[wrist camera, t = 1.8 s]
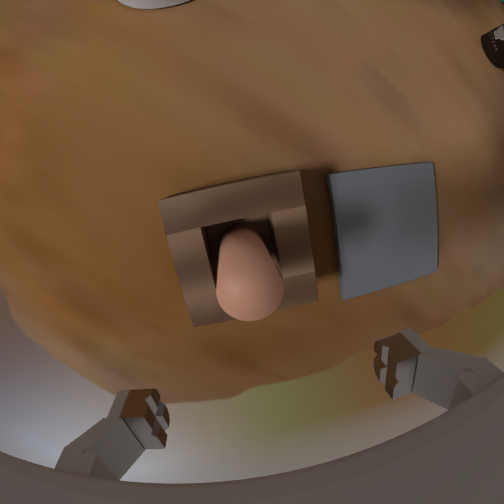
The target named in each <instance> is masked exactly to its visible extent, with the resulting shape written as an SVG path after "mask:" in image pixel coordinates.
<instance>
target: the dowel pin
mask: <svg viewBox="0 0 504 504" xmlns="http://www.w3.org/2000/svg"><path fill="white" fill-rule="evenodd" d="M283 293H284V285H283V280H282V278H281V276H280V274H279V272H278V270H277V268H276V266H275V264H274V262H273V260H272V258H271V256H270V254H269V252H268V250H267V248H266V246H265V244H264V242H263V240H262V238H261V236H260V235H259V233H258V231H257V230H256V229H255V228H254V227H253V226H251V225H250V224H247V223H235V224H232V225H230V226H229V227H227V228H226V229H225V231H224V232H223V234H222V236H221V241H220V251H219V263H218V274H217V287H216V295H217V299H218V302H219V304H220V306H221V308H222V309H223V310H224V311H225V312H226V313H227V314H228V315H230V316H231V317H233V318H235V319H238V320H242V321H256V320H260V319H262V318H265V317H267V316H269V315H270V314H271V313H273V312H274V311H275V310H276V308H277V307H278V306H279V304H280V302H281V300H282V298H283Z"/></svg>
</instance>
